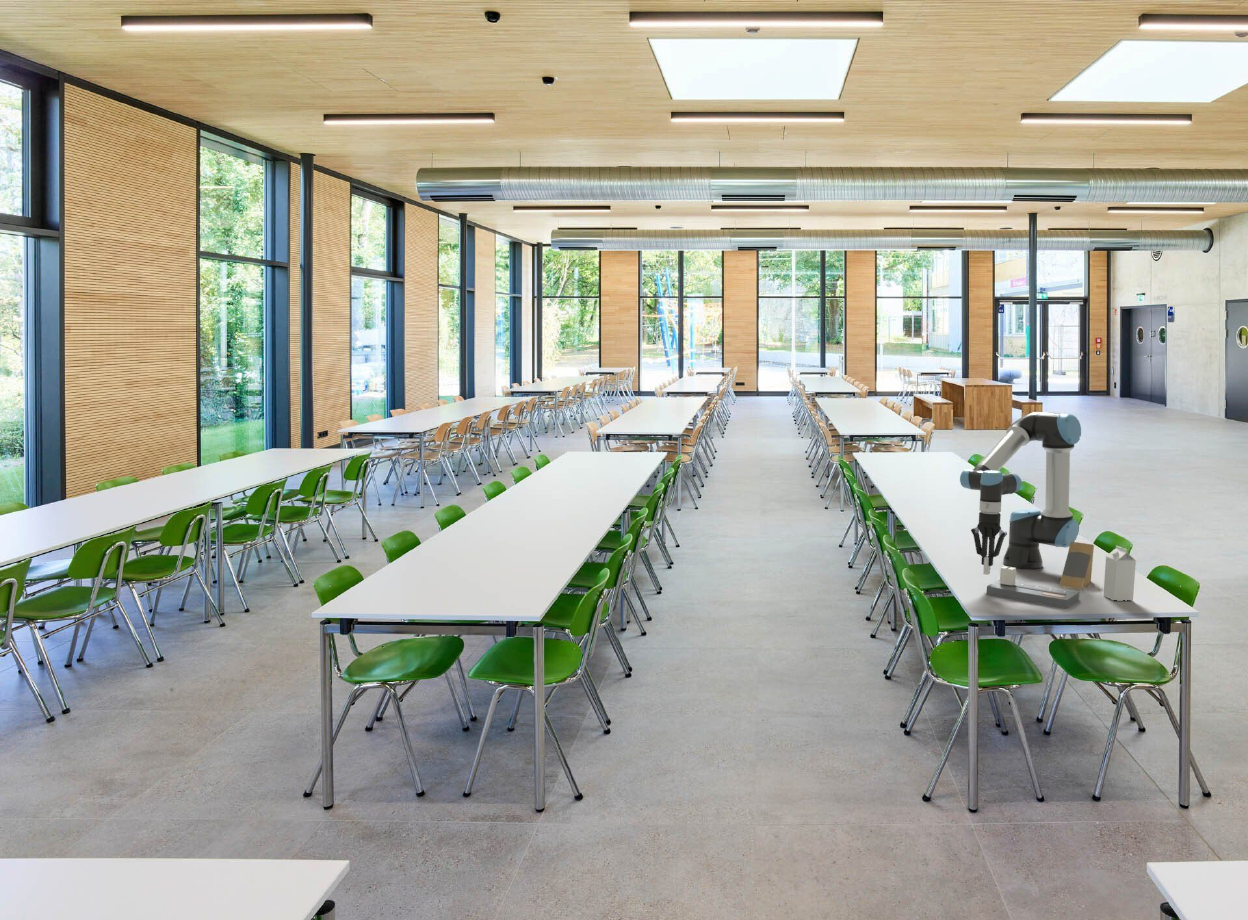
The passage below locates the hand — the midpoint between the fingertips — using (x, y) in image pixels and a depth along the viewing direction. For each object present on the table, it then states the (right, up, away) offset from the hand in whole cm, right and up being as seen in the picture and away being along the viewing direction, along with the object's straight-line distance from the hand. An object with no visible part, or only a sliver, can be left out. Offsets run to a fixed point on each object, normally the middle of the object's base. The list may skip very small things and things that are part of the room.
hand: (986, 573), depth 355 cm
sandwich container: (+38, -5, +9) cm, 39 cm away
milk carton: (+43, -8, -12) cm, 45 cm away
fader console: (+13, -7, -10) cm, 18 cm away
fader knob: (+6, -3, -5) cm, 8 cm away
